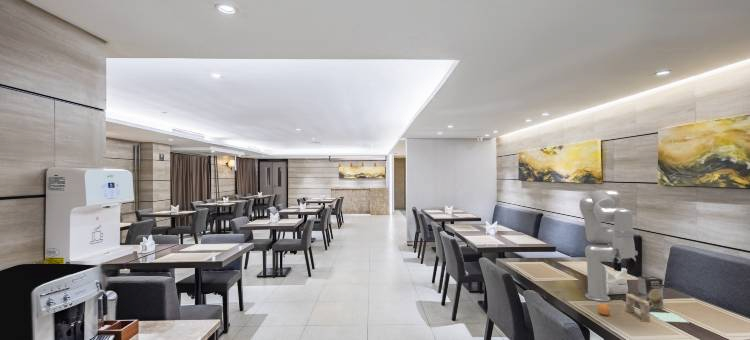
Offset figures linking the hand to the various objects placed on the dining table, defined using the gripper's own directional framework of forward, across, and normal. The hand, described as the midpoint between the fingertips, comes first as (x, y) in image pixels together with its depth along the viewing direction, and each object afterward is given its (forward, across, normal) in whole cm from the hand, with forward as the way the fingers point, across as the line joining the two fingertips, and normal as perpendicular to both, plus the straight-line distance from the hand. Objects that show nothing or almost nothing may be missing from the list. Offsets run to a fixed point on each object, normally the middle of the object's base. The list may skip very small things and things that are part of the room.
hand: (624, 269), depth 169 cm
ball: (+24, -3, -14) cm, 28 cm away
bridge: (+27, -17, -6) cm, 32 cm away
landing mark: (+27, -29, 0) cm, 40 cm away
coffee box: (+27, -37, -13) cm, 48 cm away
